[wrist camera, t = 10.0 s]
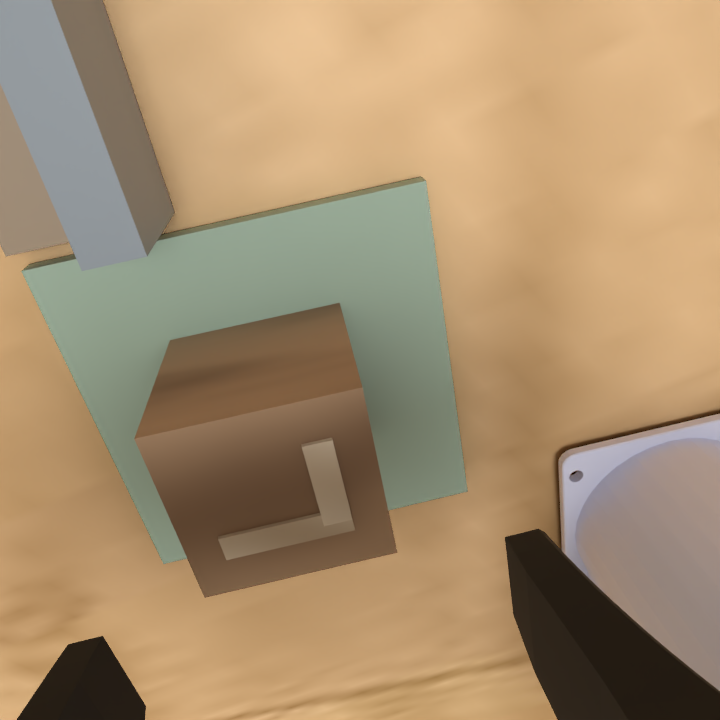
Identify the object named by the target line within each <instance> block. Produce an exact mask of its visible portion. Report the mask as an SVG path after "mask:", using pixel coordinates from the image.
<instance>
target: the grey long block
mask: <svg viewBox="0 0 720 720" xmlns="http://www.w3.org/2000/svg"><path fill="white" fill-rule="evenodd" d="M174 213H175V212H174V209H173V206H172V203H171V200H170V197H169V194H168V191H167V188H166V185H165V183H164V180H163V177H162V174H161V171H160V168H159V165H158V162H157V159H156V156H155V153H154V150H153V147H152V144H151V141H150V138H149V135H148V132H147V130H146V127H145V124H144V121H143V118H142V115H141V112H140V109H139V106H138V103H137V100H136V97H135V94H134V91H133V88H132V85H131V82H130V79H129V77H128V74H127V71H126V68H125V65H124V62H123V59H122V56H121V53H120V50H119V47H118V44H117V41H116V38H115V35H114V32H113V29H112V26H111V24H110V21H109V18H108V15H107V12H106V9H105V6H104V3H103V0H0V245H1V247H2V250H3V252H4V254H5V256H10V255H15V254H19V253H24V252H28V251H33V250H37V249H42V248H46V247H51V246H55V245H59V244H64V243H68V242H69V243H70V245H71V247H72V250H73V252H74V254H75V257H76V259H77V261H78V264H79V266H80V268H81V270H82V271H85V270H90V269H94V268H99V267H103V266H108V265H112V264H117V263H121V262H126V261H130V260H134V259H139V258H143V257H147V256H148V254H149V253H150V251H151V250H152V248H153V246H154V245H155V243H156V242H157V240H158V239H159V237H160V235H161V234H162V232H163V231H164V229H165V227H166V226H167V224H168V223H169V221H170V219H171V218H172V216H173V215H174Z"/></svg>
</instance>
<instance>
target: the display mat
mask: <svg viewBox="0 0 720 720" xmlns="http://www.w3.org/2000/svg"><path fill="white" fill-rule="evenodd" d="M22 273H23V275H24V277H25V280H26V282H27V284H28V286H29V288H30V290H31V292H32V294H33V296H34V298H35V300H36V302H37V304H38V306H39V308H40V310H41V312H42V315H43V317H44V319H45V321H46V323H47V325H48V327H49V329H50V331H51V333H52V335H53V337H54V339H55V341H56V343H57V345H58V347H59V350H60V352H61V354H62V356H63V358H64V360H65V362H66V364H67V366H68V368H69V370H70V372H71V374H72V376H73V378H74V380H75V382H76V385H77V387H78V389H79V391H80V393H81V395H82V397H83V399H84V401H85V403H86V405H87V407H88V409H89V411H90V413H91V415H92V417H93V420H94V422H95V424H96V426H97V428H98V430H99V432H100V434H101V436H102V438H103V440H104V442H105V444H106V446H107V448H108V450H109V452H110V455H111V457H112V459H113V461H114V463H115V465H116V467H117V469H118V471H119V473H120V475H121V477H122V479H123V481H124V483H125V485H126V487H127V490H128V492H129V494H130V496H131V498H132V500H133V502H134V504H135V506H136V508H137V510H138V512H139V514H140V516H141V518H142V520H143V522H144V525H145V527H146V529H147V531H148V533H149V535H150V537H151V539H152V541H153V543H154V545H155V547H156V549H157V551H158V553H159V555H160V558H161V560H162V562H163V564H166V563H170V562H174V561H178V560H183V559H187V557H186V554H185V552H184V550H183V548H182V545H181V543H180V541H179V539H178V536H177V534H176V532H175V530H174V527H173V525H172V523H171V521H170V518H169V516H168V514H167V512H166V509H165V507H164V505H163V503H162V500H161V498H160V496H159V494H158V491H157V489H156V487H155V485H154V482H153V480H152V478H151V476H150V473H149V471H148V469H147V467H146V464H145V462H144V460H143V458H142V455H141V453H140V451H139V449H138V446H137V444H136V442H135V440H134V438H135V435H136V433H137V430H138V427H139V424H140V422H141V419H142V416H143V413H144V410H145V408H146V405H147V402H148V399H149V397H150V394H151V391H152V388H153V386H154V383H155V380H156V377H157V375H158V372H159V369H160V366H161V364H162V361H163V358H164V355H165V353H166V350H167V347H168V344H169V342H170V340H173V339H177V338H182V337H186V336H191V335H196V334H200V333H205V332H209V331H214V330H218V329H223V328H227V327H232V326H236V325H241V324H245V323H250V322H254V321H259V320H263V319H268V318H272V317H277V316H282V315H286V314H291V313H295V312H300V311H304V310H309V309H313V308H318V307H322V306H327V305H331V304H336V303H340V306H341V310H342V313H343V317H344V321H345V325H346V328H347V332H348V336H349V339H350V343H351V347H352V351H353V354H354V358H355V362H356V365H357V369H358V373H359V377H360V380H361V384H362V388H363V393H364V397H365V402H366V407H367V412H368V416H369V421H370V426H371V431H372V435H373V440H374V445H375V450H376V454H377V459H378V464H379V469H380V473H381V478H382V483H383V488H384V492H385V497H386V502H387V507H388V510H392V509H396V508H400V507H405V506H409V505H413V504H417V503H421V502H426V501H430V500H434V499H438V498H442V497H447V496H451V495H455V494H459V493H463V492H467V491H468V490H467V483H466V476H465V468H464V461H463V453H462V446H461V438H460V431H459V423H458V416H457V409H456V401H455V394H454V386H453V379H452V371H451V364H450V356H449V349H448V341H447V334H446V327H445V319H444V312H443V304H442V297H441V289H440V282H439V274H438V267H437V260H436V252H435V245H434V237H433V230H432V222H431V215H430V207H429V200H428V193H427V185H426V180H424V179H423V178H422V177H418V178H413V179H409V180H404V181H400V182H395V183H391V184H386V185H382V186H377V187H373V188H369V189H364V190H360V191H355V192H351V193H346V194H342V195H337V196H333V197H328V198H324V199H319V200H315V201H310V202H306V203H301V204H297V205H292V206H288V207H283V208H279V209H275V210H270V211H266V212H261V213H257V214H252V215H248V216H243V217H239V218H234V219H230V220H225V221H221V222H216V223H212V224H207V225H203V226H198V227H194V228H190V229H185V230H181V231H176V232H172V233H167V234H163V235H160V237H159V239H158V240H157V242H156V243H155V245H154V246H153V248H152V250H151V251H150V253H149V254H148V256H147V257H143V258H139V259H134V260H130V261H126V262H121V263H117V264H112V265H108V266H103V267H99V268H94V269H90V270H85V271H82V270H81V268H80V266H79V264H78V261H77V259H76V257H75V254H73V255H69V256H64V257H60V258H55V259H51V260H46V261H42V262H37V263H33V264H29V265H28V266H27V267H26V268H25V269H24V270H22Z"/></svg>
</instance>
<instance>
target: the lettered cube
mask: <svg viewBox="0 0 720 720" xmlns="http://www.w3.org/2000/svg"><path fill="white" fill-rule="evenodd" d="M134 440H135V442H136V444H137V446H138V449H139V451H140V453H141V455H142V458H143V460H144V462H145V464H146V467H147V469H148V471H149V473H150V476H151V478H152V480H153V482H154V485H155V487H156V489H157V491H158V494H159V496H160V498H161V500H162V503H163V505H164V507H165V509H166V512H167V514H168V516H169V518H170V521H171V523H172V525H173V527H174V530H175V532H176V534H177V536H178V539H179V541H180V543H181V545H182V548H183V550H184V552H185V554H186V557H187V559H188V561H189V563H190V566H191V568H192V570H193V572H194V575H195V577H196V579H197V581H198V584H199V586H200V588H201V590H202V593H203V595H204V597H209V596H214V595H218V594H222V593H226V592H231V591H235V590H239V589H244V588H248V587H252V586H256V585H261V584H265V583H269V582H273V581H278V580H282V579H286V578H290V577H295V576H299V575H303V574H307V573H312V572H316V571H320V570H324V569H329V568H333V567H337V566H341V565H346V564H350V563H354V562H359V561H363V560H367V559H371V558H376V557H380V556H384V555H388V554H393V553H397V549H396V545H395V540H394V535H393V530H392V526H391V521H390V516H389V511H388V507H387V502H386V497H385V492H384V488H383V483H382V478H381V473H380V469H379V464H378V459H377V454H376V450H375V445H374V440H373V435H372V431H371V426H370V421H369V416H368V412H367V407H366V402H365V397H364V393H363V388H362V384H361V380H360V377H359V373H358V369H357V365H356V362H355V358H354V354H353V351H352V347H351V343H350V339H349V336H348V332H347V328H346V325H345V321H344V317H343V313H342V310H341V306H340V303H336V304H331V305H327V306H322V307H318V308H313V309H309V310H304V311H300V312H295V313H291V314H286V315H282V316H277V317H272V318H268V319H263V320H259V321H254V322H250V323H245V324H241V325H236V326H232V327H227V328H223V329H218V330H214V331H209V332H205V333H200V334H196V335H191V336H186V337H182V338H177V339H173V340H170V342H169V344H168V347H167V350H166V353H165V355H164V358H163V361H162V364H161V366H160V369H159V372H158V375H157V377H156V380H155V383H154V386H153V388H152V391H151V394H150V397H149V399H148V402H147V405H146V408H145V410H144V413H143V416H142V419H141V422H140V424H139V427H138V430H137V433H136V435H135V438H134Z"/></svg>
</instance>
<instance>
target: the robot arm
mask: <svg viewBox="0 0 720 720" xmlns="http://www.w3.org/2000/svg"><path fill="white" fill-rule="evenodd" d="M558 464H559V490H560V516H561V541H562V551H561V549H560V548H559V547H558V546H557V545H556V544H555V543H554V542H553V541H552V540H551V539H550V538H549V537H548V535H547V534H546V533H545V532H543V531H541V530H540V529H536V530H532V531H528V532H524V533H520V534H516V535H512V536H508V537H505V542H506V551H507V560H508V569H509V578H510V587H511V596H512V605H513V614H514V617H515V620H516V623H517V625H518V628H519V631H520V634H521V636H522V639H523V642H524V644H525V647H526V650H527V652H528V655H529V658H530V660H531V663H532V666H533V668H534V671H535V673H536V675H537V678H538V680H539V682H540V684H541V686H542V688H543V690H544V692H545V694H546V696H547V698H548V700H549V702H550V705H551V707H552V709H553V711H554V713H555V715H556V717H557V719H558V720H720V414H716V415H711V416H707V417H703V418H699V419H695V420H690V421H686V422H682V423H678V424H674V425H669V426H665V427H661V428H657V429H653V430H648V431H644V432H640V433H636V434H632V435H627V436H623V437H619V438H615V439H611V440H606V441H602V442H598V443H594V444H589V445H585V446H581V447H577V448H573V449H570V450H567V451H566V452H564V453H563V454H562V455H561V457H560V458H559V463H558ZM574 471H577V472H576V473H575V474H573V475H570V474H571V473H572V472H574ZM145 710H146V706H145V704H144V702H143V701H142V699H141V698H140V696H139V694H138V693H137V691H136V689H135V688H134V686H133V685H132V683H131V681H130V680H129V678H128V676H127V675H126V673H125V672H124V670H123V668H122V667H121V665H120V663H119V662H118V660H117V658H116V657H115V655H114V654H113V652H112V650H111V649H110V647H109V645H108V644H107V642H106V641H105V639H104V637H103V636H101V637H97V638H93V639H88V640H84V641H80V642H76V643H72V644H68V646H67V647H66V648H65V650H64V651H63V653H62V654H61V655H60V657H59V658H58V660H57V661H56V663H55V664H54V666H53V667H52V668H51V670H50V671H49V673H48V674H47V676H46V677H45V679H44V680H43V682H42V683H41V685H40V686H39V688H38V689H37V691H36V692H35V694H34V695H33V696H32V698H31V699H30V701H29V702H28V704H27V705H26V707H25V708H24V710H23V711H22V713H21V714H20V716H19V717H18V718H17V720H145Z"/></svg>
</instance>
